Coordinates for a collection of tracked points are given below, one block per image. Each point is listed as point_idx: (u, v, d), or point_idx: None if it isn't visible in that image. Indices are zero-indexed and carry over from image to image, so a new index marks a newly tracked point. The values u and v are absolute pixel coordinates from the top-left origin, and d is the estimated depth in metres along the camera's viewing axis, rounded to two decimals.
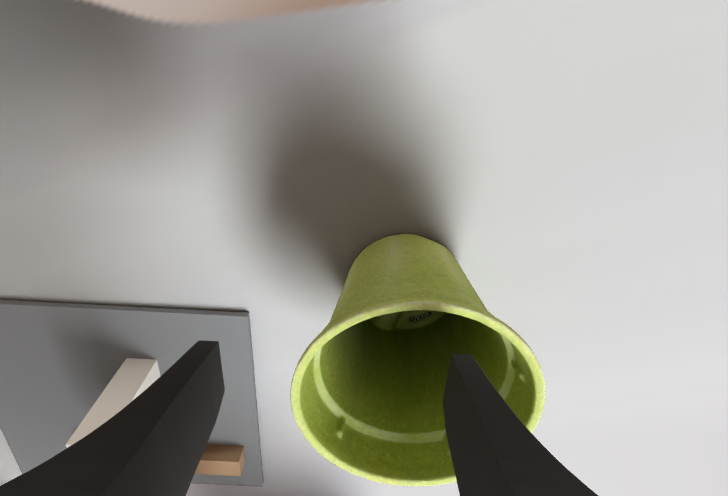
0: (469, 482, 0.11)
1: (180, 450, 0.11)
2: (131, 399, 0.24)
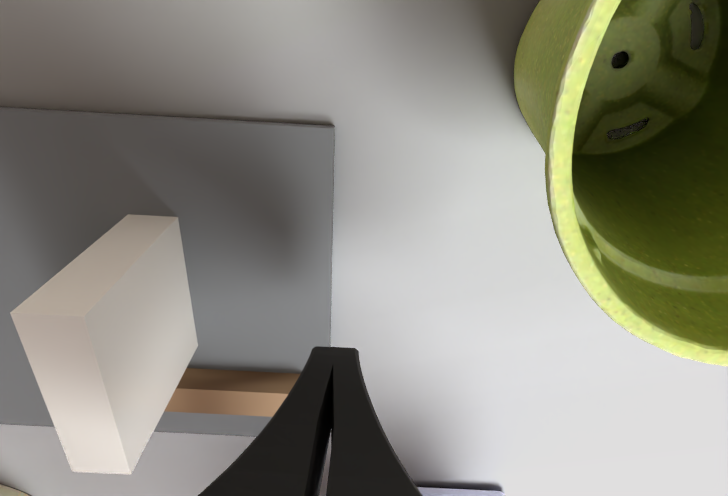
0: None
1: (319, 457, 0.11)
2: (137, 258, 0.14)
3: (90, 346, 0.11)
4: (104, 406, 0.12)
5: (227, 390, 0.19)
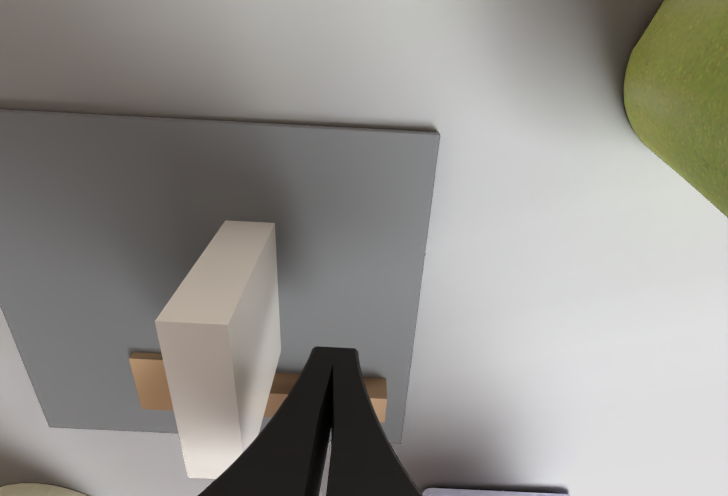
0: None
1: (319, 457, 0.11)
2: (253, 265, 0.14)
3: (228, 354, 0.11)
4: (231, 413, 0.12)
5: None
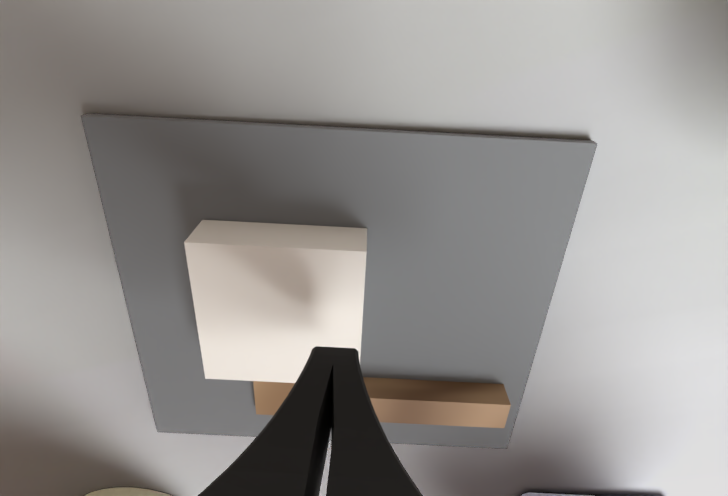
0: None
1: (319, 456, 0.11)
2: (273, 246, 0.15)
3: (188, 266, 0.15)
4: (197, 315, 0.16)
5: (435, 401, 0.19)
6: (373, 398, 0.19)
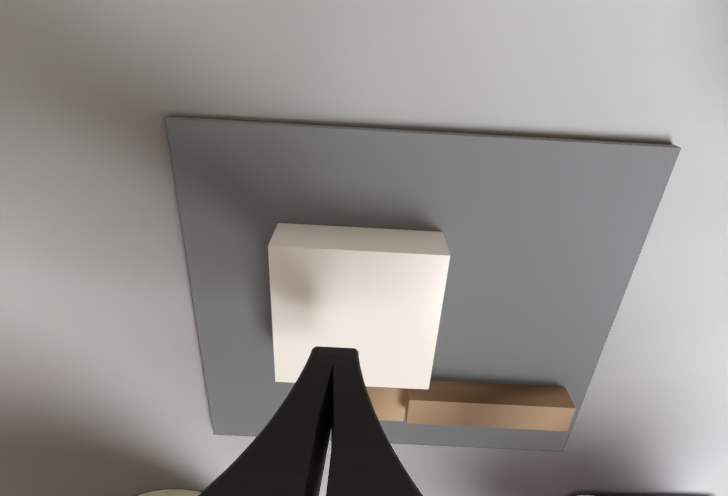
0: None
1: (319, 457, 0.11)
2: (356, 250, 0.15)
3: (269, 269, 0.15)
4: (273, 318, 0.16)
5: (500, 404, 0.19)
6: (439, 401, 0.19)
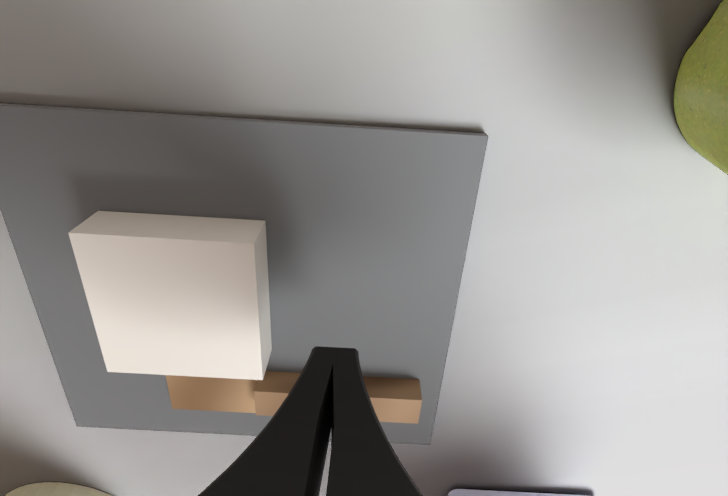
0: None
1: (318, 457, 0.11)
2: (159, 237, 0.15)
3: (76, 257, 0.15)
4: (93, 307, 0.16)
5: None
6: (284, 392, 0.19)
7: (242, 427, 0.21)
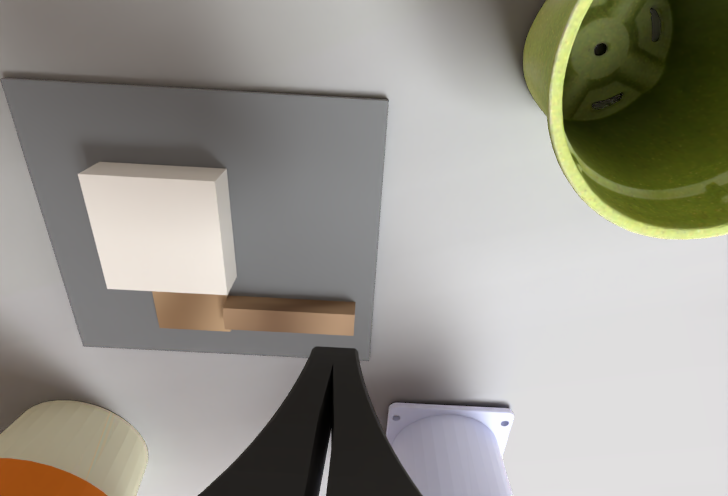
0: None
1: (318, 457, 0.11)
2: (144, 177, 0.20)
3: (83, 193, 0.20)
4: (96, 235, 0.21)
5: (295, 312, 0.24)
6: (246, 309, 0.24)
7: (216, 346, 0.26)
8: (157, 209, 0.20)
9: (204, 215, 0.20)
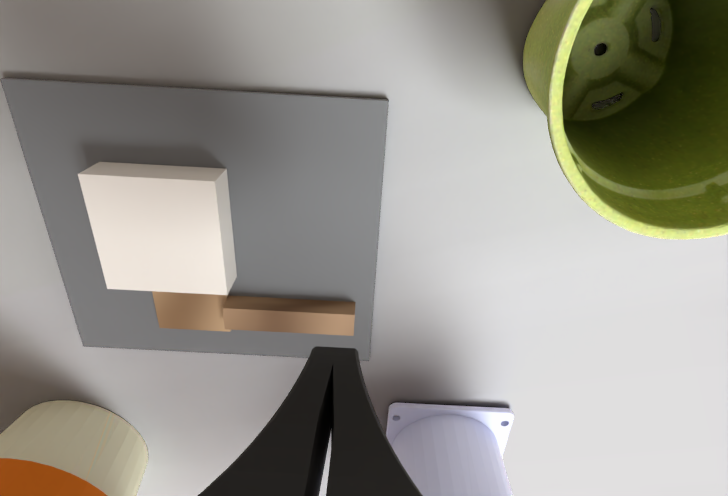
0: None
1: (318, 457, 0.11)
2: (144, 177, 0.20)
3: (83, 193, 0.20)
4: (96, 235, 0.21)
5: (295, 312, 0.24)
6: (246, 309, 0.24)
7: (216, 346, 0.26)
8: (157, 209, 0.20)
9: (204, 215, 0.20)
